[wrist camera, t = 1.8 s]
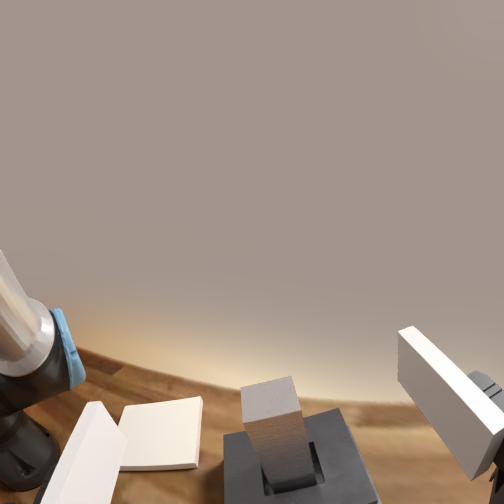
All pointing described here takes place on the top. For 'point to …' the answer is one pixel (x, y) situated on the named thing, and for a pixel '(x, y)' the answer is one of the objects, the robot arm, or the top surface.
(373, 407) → the top surface
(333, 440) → the socket block
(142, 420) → the cream pad
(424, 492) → the top surface
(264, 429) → the aluminium plug
